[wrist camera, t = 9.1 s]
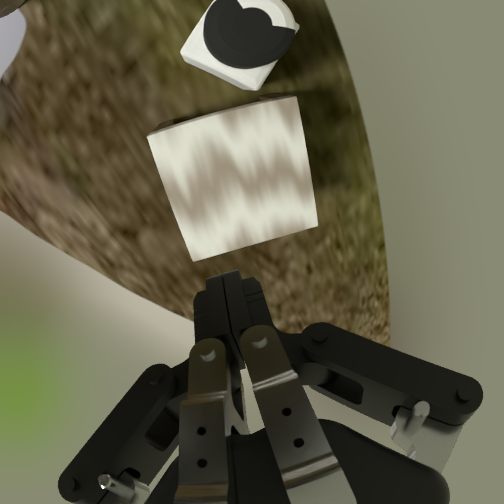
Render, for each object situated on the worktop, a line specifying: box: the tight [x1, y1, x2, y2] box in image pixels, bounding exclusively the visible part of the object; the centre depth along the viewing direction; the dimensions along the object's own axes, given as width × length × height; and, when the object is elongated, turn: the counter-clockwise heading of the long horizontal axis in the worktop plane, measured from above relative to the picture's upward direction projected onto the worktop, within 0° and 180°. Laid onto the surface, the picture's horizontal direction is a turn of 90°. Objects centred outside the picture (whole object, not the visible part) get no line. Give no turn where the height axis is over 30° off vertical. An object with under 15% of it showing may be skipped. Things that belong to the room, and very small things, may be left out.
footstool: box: [147, 93, 318, 262], centre depth 28 cm, size 12×8×12 cm
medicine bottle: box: [181, 0, 299, 91], centre depth 20 cm, size 7×7×12 cm
